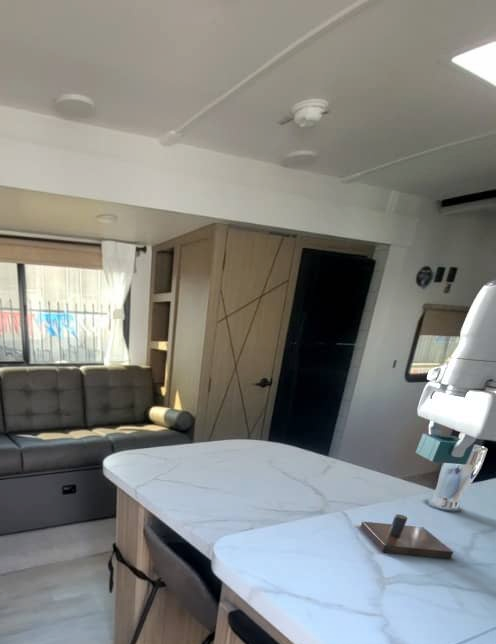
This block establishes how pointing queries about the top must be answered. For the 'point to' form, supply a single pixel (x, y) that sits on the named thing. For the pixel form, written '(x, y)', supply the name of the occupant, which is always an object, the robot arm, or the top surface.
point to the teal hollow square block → (441, 449)
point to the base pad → (405, 539)
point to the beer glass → (456, 480)
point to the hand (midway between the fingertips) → (442, 450)
